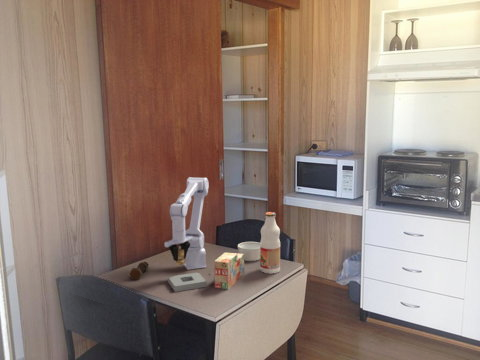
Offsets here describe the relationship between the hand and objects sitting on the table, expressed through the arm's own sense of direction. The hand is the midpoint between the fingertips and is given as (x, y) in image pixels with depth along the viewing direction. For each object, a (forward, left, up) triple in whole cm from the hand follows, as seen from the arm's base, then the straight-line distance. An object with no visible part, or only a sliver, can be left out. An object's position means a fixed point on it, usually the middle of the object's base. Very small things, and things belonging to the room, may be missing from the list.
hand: (179, 259), depth 196 cm
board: (-1, +8, -9) cm, 12 cm away
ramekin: (-41, -14, -9) cm, 44 cm away
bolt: (+15, -13, -9) cm, 22 cm away
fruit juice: (-42, +7, -9) cm, 44 cm away
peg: (0, 0, -2) cm, 2 cm away
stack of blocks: (-20, +11, -9) cm, 25 cm away
